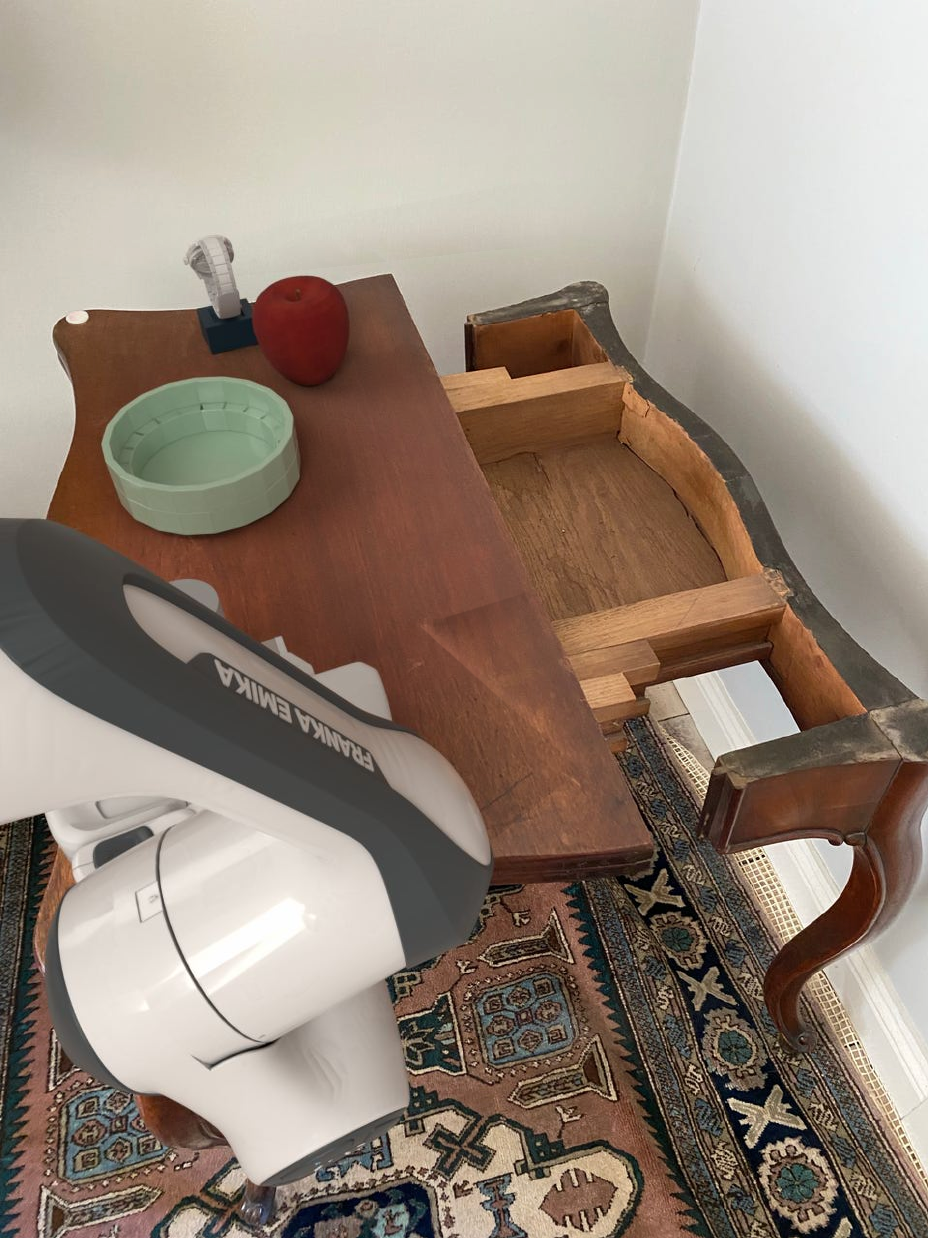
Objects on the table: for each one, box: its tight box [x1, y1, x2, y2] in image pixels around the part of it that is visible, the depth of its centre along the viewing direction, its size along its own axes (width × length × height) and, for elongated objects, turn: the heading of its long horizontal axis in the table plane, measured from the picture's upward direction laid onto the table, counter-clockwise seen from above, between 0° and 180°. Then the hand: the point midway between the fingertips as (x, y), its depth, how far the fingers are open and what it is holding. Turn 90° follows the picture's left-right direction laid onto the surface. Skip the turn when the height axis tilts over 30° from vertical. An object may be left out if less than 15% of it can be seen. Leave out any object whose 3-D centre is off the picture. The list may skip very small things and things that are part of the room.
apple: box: [252, 275, 350, 387], centre depth 91 cm, size 10×10×10 cm
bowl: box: [101, 376, 302, 536], centre depth 81 cm, size 16×16×6 cm
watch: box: [182, 234, 259, 355], centre depth 95 cm, size 6×8×11 cm
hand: (201, 665), depth 58 cm, fingers open, 8 cm apart
